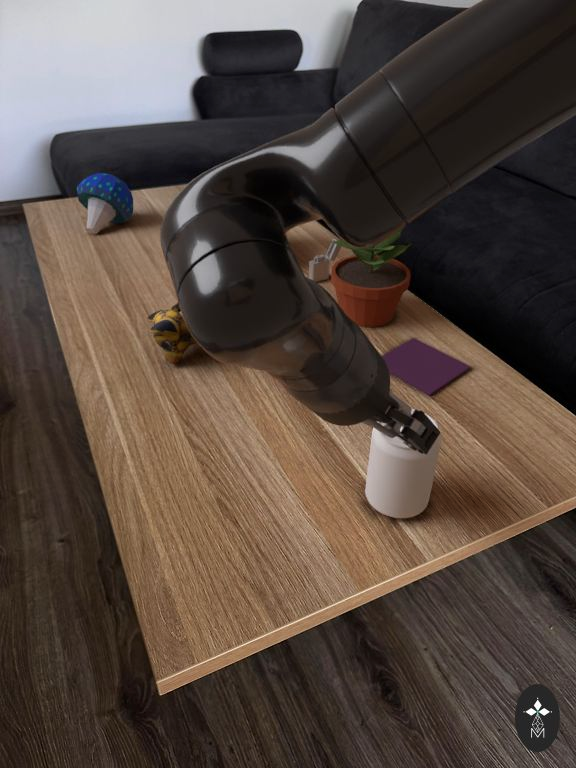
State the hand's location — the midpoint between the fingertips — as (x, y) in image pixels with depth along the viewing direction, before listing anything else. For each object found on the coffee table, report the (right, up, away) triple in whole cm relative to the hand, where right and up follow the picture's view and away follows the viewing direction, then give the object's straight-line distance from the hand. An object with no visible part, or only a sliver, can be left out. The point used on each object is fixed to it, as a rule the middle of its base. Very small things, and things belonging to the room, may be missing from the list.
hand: (383, 420), depth 62 cm
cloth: (+12, +7, +38) cm, 41 cm away
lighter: (-2, +26, +64) cm, 69 cm away
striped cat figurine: (-25, +11, +44) cm, 52 cm away
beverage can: (+4, -11, +15) cm, 19 cm away
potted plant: (+5, +17, +52) cm, 55 cm away
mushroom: (-55, +43, +86) cm, 111 cm away
